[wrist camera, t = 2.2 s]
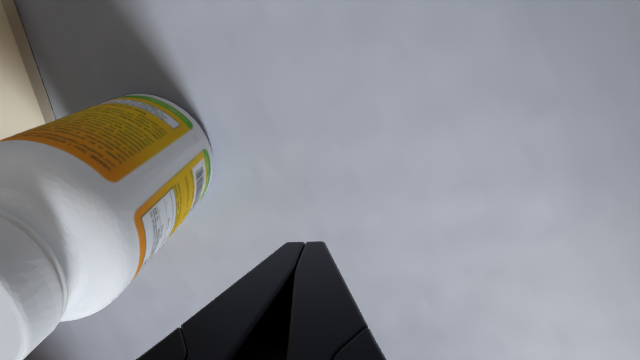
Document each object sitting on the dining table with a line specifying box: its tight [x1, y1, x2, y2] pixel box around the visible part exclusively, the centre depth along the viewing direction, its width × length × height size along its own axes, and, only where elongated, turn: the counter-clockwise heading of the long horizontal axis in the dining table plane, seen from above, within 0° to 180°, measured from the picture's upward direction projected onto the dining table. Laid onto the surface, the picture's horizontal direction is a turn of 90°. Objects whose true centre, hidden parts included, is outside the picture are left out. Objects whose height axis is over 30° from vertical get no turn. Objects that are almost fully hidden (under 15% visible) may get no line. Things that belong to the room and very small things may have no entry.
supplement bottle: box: [0, 94, 213, 360], centre depth 13 cm, size 5×5×10 cm
